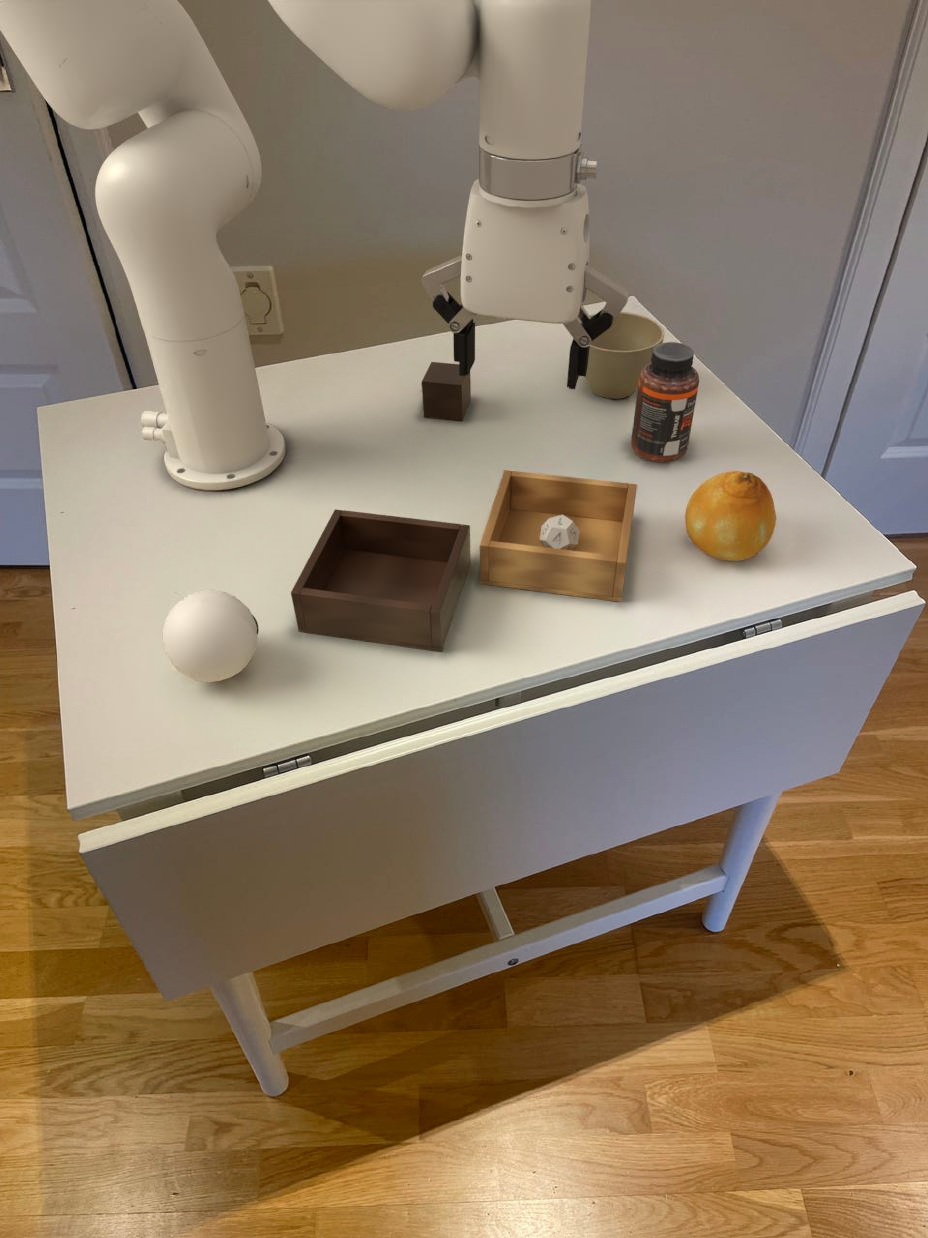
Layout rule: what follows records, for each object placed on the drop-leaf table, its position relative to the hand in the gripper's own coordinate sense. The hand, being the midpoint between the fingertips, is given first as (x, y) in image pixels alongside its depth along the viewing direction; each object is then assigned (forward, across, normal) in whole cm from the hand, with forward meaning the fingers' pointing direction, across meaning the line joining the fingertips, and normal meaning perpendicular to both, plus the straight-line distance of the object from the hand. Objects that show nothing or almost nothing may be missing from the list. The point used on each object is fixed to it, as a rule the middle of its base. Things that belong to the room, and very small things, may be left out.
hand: (519, 375), depth 81 cm
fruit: (+14, -20, +2) cm, 25 cm away
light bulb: (+14, +20, +26) cm, 36 cm away
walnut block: (+14, +11, -16) cm, 24 cm away
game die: (+14, -6, +7) cm, 16 cm away
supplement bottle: (+14, -13, -12) cm, 23 cm away
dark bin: (+14, +8, +16) cm, 23 cm away
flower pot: (+14, -7, -24) cm, 29 cm away
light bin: (+14, -6, +7) cm, 16 cm away
